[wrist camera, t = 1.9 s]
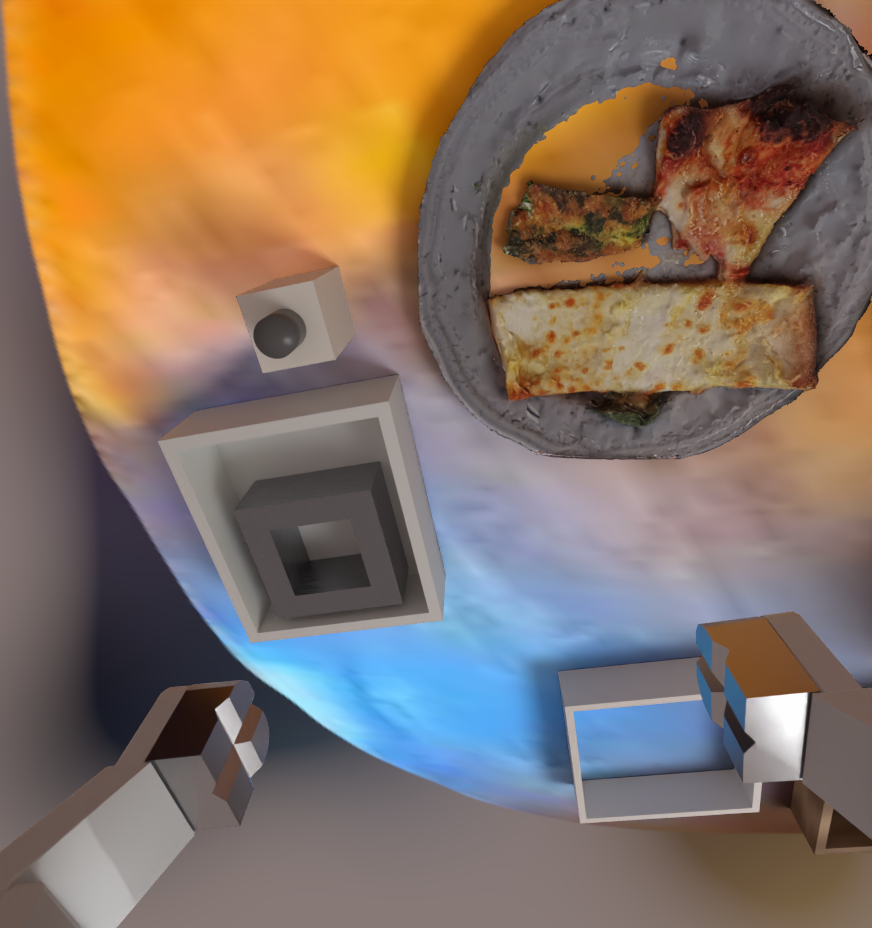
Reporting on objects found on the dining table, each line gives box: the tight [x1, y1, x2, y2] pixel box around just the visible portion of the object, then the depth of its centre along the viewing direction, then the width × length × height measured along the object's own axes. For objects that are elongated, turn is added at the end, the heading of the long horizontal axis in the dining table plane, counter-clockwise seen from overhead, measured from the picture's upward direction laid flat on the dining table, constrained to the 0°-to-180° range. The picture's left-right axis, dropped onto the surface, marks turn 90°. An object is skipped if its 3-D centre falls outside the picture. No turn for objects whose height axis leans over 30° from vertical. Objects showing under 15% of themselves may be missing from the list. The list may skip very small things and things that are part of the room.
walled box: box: [158, 374, 446, 643], centre depth 36 cm, size 16×14×5 cm
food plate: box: [418, 0, 872, 460], centre depth 30 cm, size 25×23×4 cm
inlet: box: [233, 461, 409, 619], centre depth 37 cm, size 9×9×4 cm
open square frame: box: [558, 657, 762, 823], centre depth 46 cm, size 15×15×4 cm
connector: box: [236, 266, 356, 373], centre depth 29 cm, size 4×4×8 cm
